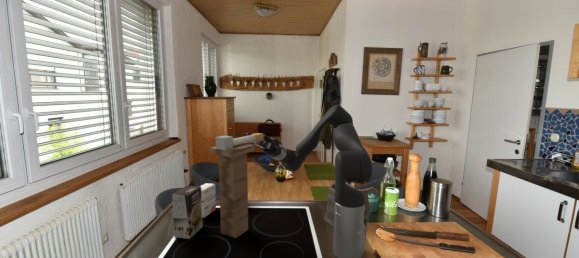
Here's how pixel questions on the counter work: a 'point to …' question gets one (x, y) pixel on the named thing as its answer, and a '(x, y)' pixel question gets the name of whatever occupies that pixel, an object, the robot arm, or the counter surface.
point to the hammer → (236, 141)
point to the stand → (233, 188)
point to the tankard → (331, 202)
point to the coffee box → (187, 211)
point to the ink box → (208, 199)
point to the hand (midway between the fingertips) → (255, 135)
